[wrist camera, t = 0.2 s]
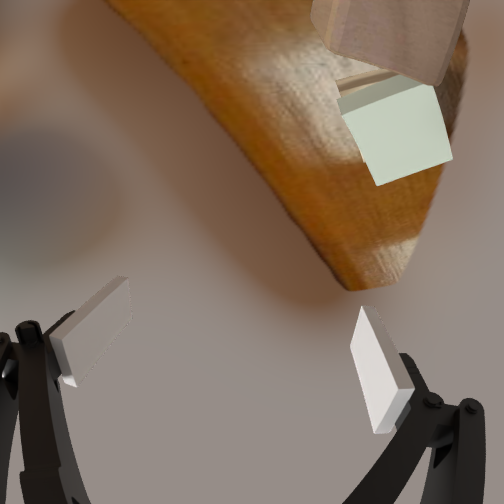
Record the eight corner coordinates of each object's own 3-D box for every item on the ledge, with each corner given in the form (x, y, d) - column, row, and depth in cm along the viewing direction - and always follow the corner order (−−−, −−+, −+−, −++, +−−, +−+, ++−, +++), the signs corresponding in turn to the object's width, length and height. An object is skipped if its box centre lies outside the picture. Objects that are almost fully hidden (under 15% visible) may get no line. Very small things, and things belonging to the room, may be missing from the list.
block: (396, -19, 22) (477, -7, 9) (380, 41, 30) (442, 94, 17) (320, -42, 21) (348, -65, 9) (308, 21, 29) (323, 53, 17)
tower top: (336, 99, 34) (341, 115, 31) (416, 68, 28) (431, 81, 25) (370, 165, 41) (377, 186, 38) (440, 140, 35) (452, 159, 32)
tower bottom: (334, 79, 36) (339, 91, 33) (410, 61, 31) (423, 72, 28) (358, 145, 44) (363, 162, 41) (425, 129, 39) (436, 145, 36)
